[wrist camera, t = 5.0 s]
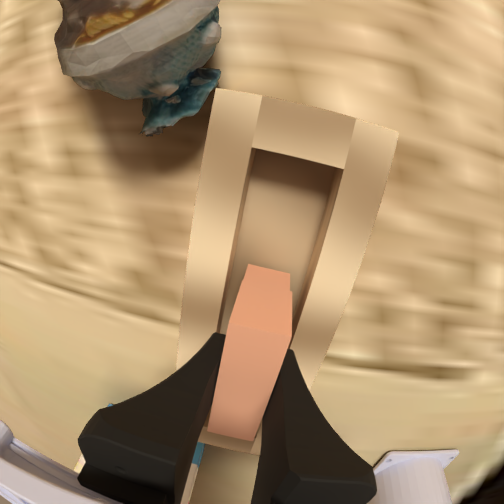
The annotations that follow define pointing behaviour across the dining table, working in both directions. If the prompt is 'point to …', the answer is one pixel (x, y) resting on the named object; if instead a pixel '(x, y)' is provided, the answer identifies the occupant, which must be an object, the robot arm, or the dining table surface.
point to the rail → (281, 220)
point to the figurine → (143, 53)
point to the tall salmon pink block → (252, 352)
